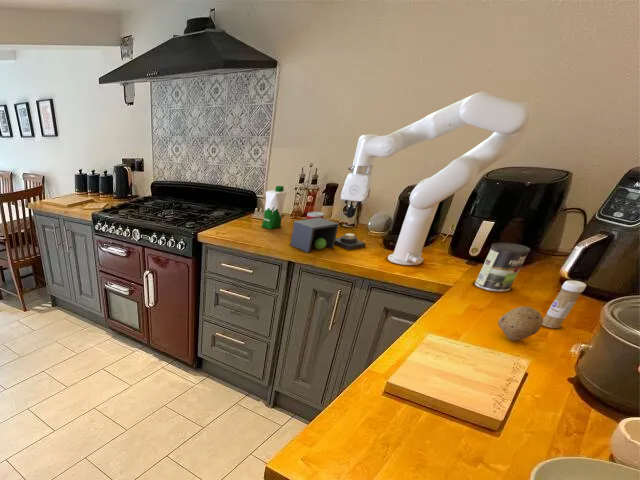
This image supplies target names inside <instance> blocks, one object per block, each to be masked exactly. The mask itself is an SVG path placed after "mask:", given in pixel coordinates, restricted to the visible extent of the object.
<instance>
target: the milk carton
mask: <svg viewBox="0 0 640 480" xmlns="http://www.w3.org/2000/svg"><path fill="white" fill-rule="evenodd" d="M284 188H285V187H284V185H276V186H275V189H272V190H267V191H265V206H264V213H263V220H262V224H261V227H263V228H265V229H269V230H274V229H278V228H281V226H282V216H283V211H284V205H285V204H284V203H285V200H286V196H287V194H288V191H287V190H285V189H284Z"/></svg>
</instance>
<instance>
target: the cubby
mask: <svg viewBox="0 0 640 480" xmlns="http://www.w3.org/2000/svg"><path fill="white" fill-rule="evenodd" d="M339 224H340V223H338V222H335V221H332V220H328V219H325V218H313V219H307V220H306V219H301V220H295V221H293V227H292V234H291V240H290V244H289V245H290V246H291V247H294V248H296V249H298V250H301V251H302V252H306V253H310V252H311V248H312V243H315V241H316V240H317V239H319V238H323V239H325V240H326V246H325V247H327V248H330V249H334V247H335V244H334V243H335V239H336V238H337V234H338V229H339Z"/></svg>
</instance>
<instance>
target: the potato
mask: <svg viewBox="0 0 640 480" xmlns="http://www.w3.org/2000/svg"><path fill="white" fill-rule="evenodd" d="M543 319H544V317H543V315H542V313H541V312H540V311H539V310H537V309H535V308H533V307H530V306H519V307H515V308H513V309H511V310H509V311H508V312H505V314H503V315H502V316H500V317H499V319H498V321H497V325H498V327H499V328H500V329H501V331H502V332H503V334H504V335H505V337H506V338H507V339H508V340H510V341H512V342H519V341H524V340H525V339H528V338H530V337H531V336H533V335H535V334H537V333H538V332H539V331H540V329H541V328H542V326H543V325H542V323H543Z"/></svg>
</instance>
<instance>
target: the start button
mask: <svg viewBox="0 0 640 480" xmlns="http://www.w3.org/2000/svg"><path fill="white" fill-rule="evenodd" d="M355 235H356V234H355V233H351V232H349V233H347V232H346V233H344V236H345V237H344V238H346V239H354V236H355ZM355 237H356V236H355Z"/></svg>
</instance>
